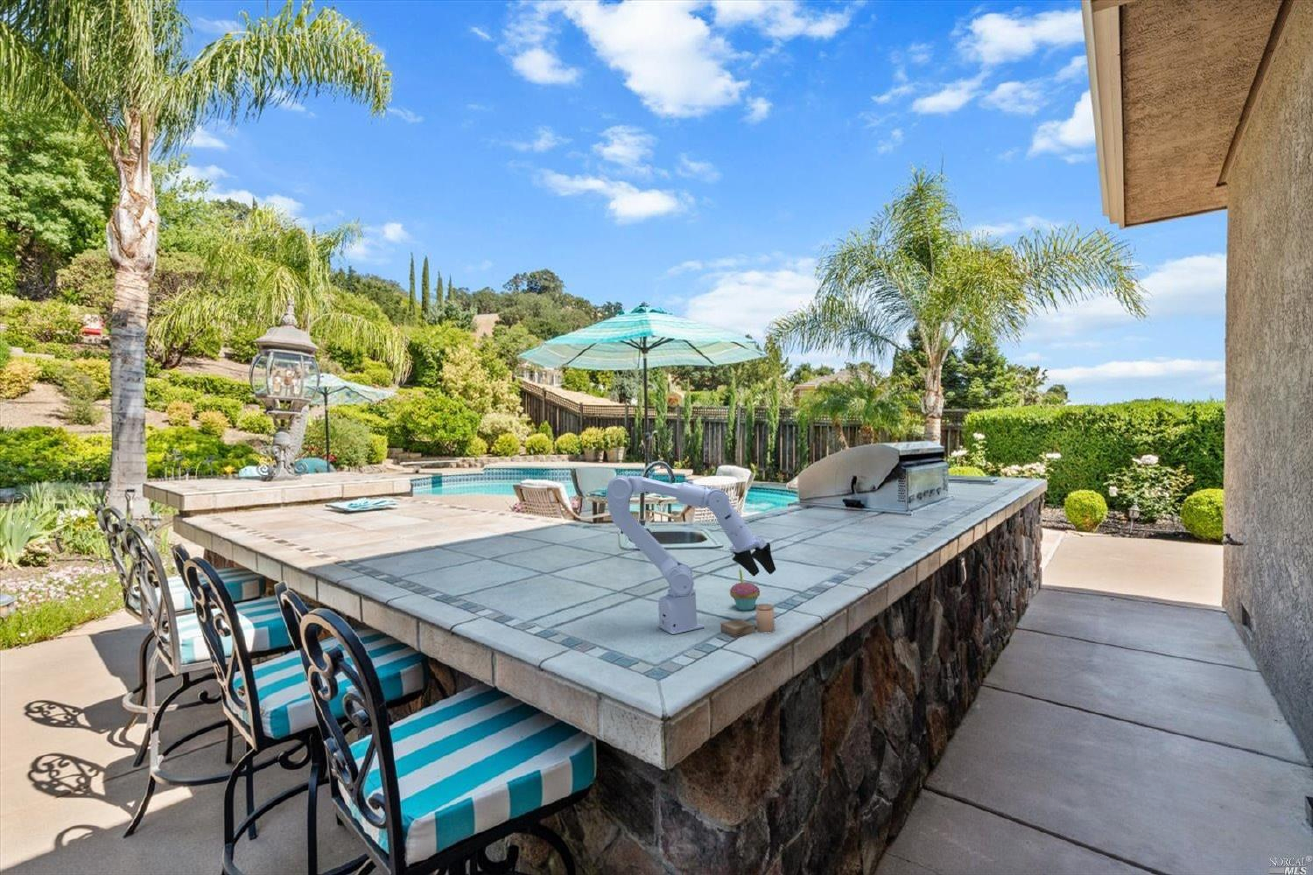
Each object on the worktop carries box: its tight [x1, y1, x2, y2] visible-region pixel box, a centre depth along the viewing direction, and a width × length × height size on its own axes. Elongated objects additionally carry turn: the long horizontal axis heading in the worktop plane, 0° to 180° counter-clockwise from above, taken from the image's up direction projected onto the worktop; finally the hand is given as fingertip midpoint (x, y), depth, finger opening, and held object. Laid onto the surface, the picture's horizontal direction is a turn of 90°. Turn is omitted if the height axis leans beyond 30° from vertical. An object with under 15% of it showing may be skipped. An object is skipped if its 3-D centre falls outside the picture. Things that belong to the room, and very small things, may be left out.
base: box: [720, 618, 756, 639], centre depth 144 cm, size 6×6×2 cm
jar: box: [755, 603, 776, 633], centre depth 144 cm, size 4×4×6 cm
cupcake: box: [729, 567, 761, 611], centre depth 164 cm, size 9×8×12 cm
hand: (764, 573), depth 150 cm, fingers open, 7 cm apart
